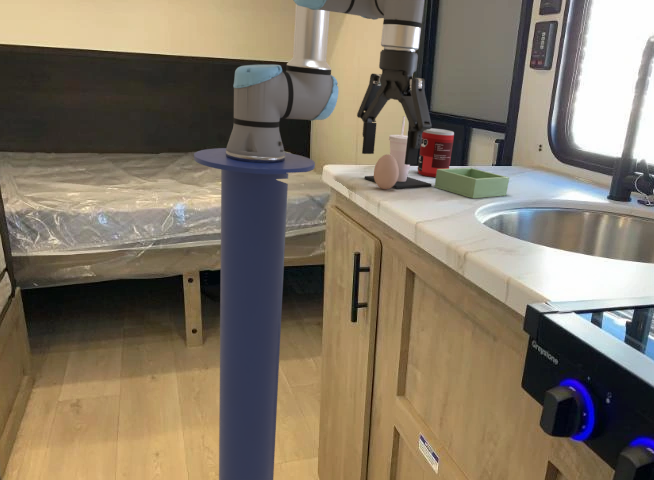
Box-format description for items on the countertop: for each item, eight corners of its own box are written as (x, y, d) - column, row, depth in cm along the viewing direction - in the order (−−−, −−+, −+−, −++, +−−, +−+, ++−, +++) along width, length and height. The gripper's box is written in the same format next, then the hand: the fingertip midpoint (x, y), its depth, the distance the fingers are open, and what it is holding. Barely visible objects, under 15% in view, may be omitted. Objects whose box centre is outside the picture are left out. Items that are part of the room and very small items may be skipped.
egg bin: (434, 187, 137) (436, 169, 135) (467, 184, 144) (470, 167, 142) (472, 198, 129) (475, 179, 127) (506, 195, 136) (509, 177, 134)
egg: (384, 185, 132) (388, 152, 129) (401, 190, 129) (406, 156, 126) (367, 187, 129) (370, 152, 126) (384, 192, 125) (388, 157, 122)
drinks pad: (364, 178, 138) (364, 176, 138) (399, 176, 145) (399, 174, 144) (396, 188, 130) (396, 186, 130) (431, 186, 137) (431, 183, 137)
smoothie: (401, 176, 141) (408, 115, 136) (417, 182, 136) (425, 119, 131) (379, 177, 138) (385, 114, 133) (394, 183, 133) (402, 117, 128)
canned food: (423, 170, 157) (428, 127, 153) (452, 175, 154) (458, 131, 150) (412, 173, 151) (417, 128, 147) (442, 179, 148) (448, 133, 144)
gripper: (459, 54, 112) (443, 168, 120) (373, 49, 129) (364, 149, 137) (431, 50, 107) (416, 169, 115) (346, 46, 125) (338, 149, 132)
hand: (388, 159), depth 126 cm, fingers open, 13 cm apart
